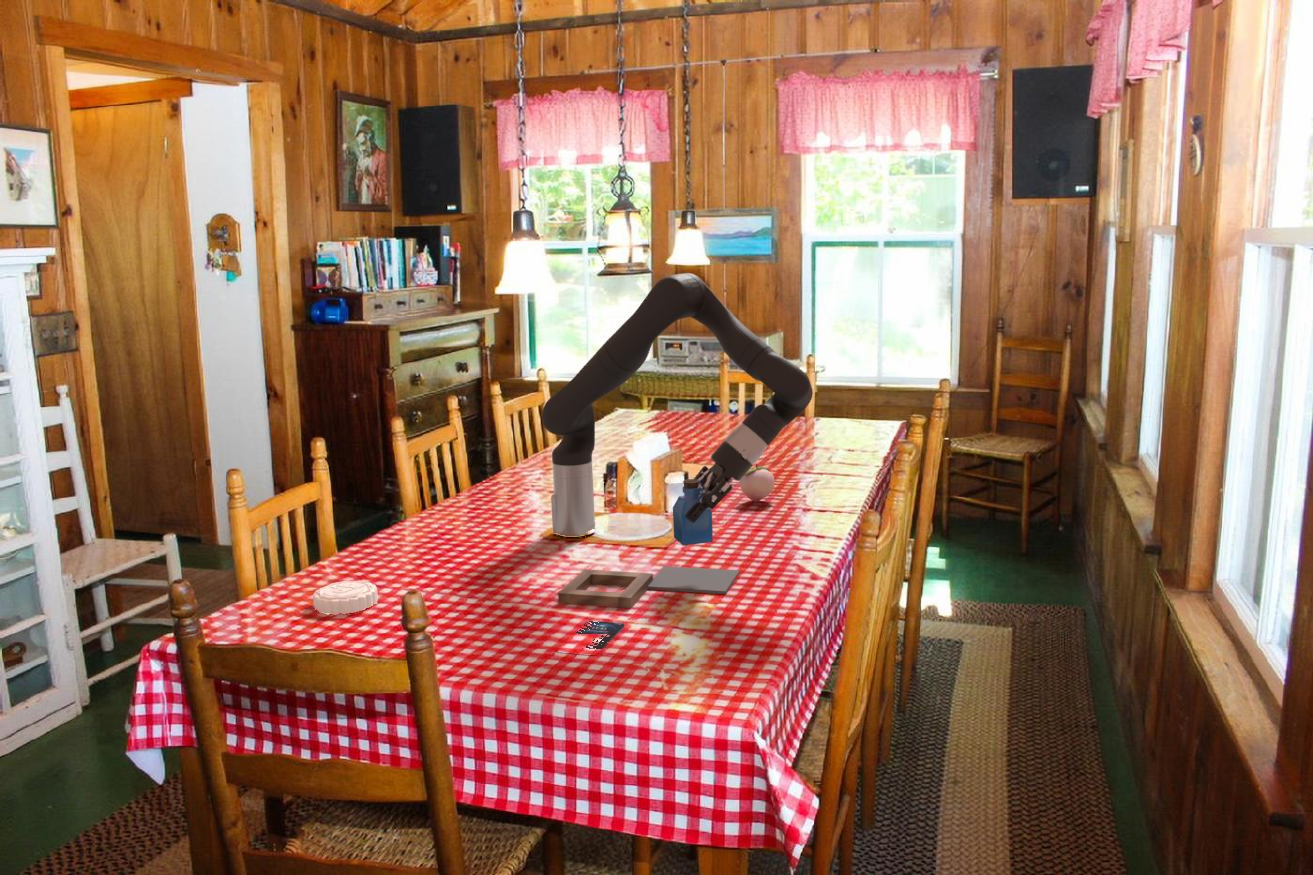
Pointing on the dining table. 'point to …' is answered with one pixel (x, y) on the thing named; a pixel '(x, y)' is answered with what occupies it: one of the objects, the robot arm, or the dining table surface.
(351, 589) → the mooncake
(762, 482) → the decorative fruit
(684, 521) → the perfume bottle
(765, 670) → the dining table surface
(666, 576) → the rubber mat
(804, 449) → the dining table surface
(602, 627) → the smartphone
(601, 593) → the block
